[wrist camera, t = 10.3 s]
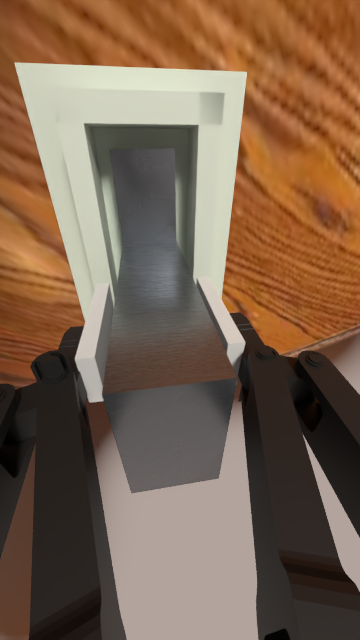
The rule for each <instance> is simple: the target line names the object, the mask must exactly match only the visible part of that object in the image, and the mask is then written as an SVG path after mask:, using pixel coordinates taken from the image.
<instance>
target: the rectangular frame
mask: <svg viewBox="0 0 360 640" xmlns="http://www.w3.org/2000/svg"><path fill="white" fill-rule="evenodd" d="M15 67H16V71H17V74H18V78H19V82H20V85H21V89H22V93H23V96H24V100H25V104H26V107H27V111H28V114H29V118H30V122H31V125H32V129H33V133H34V136H35V140H36V144H37V147H38V151H39V155H40V158H41V162H42V166H43V169H44V173H45V177H46V180H47V184H48V188H49V191H50V195H51V199H52V202H53V206H54V209H55V213H56V217H57V220H58V224H59V228H60V231H61V235H62V239H63V242H64V246H65V250H66V253H67V257H68V261H69V264H70V268H71V272H72V275H73V279H74V283H75V286H76V290H77V294H78V297H79V301H80V304H81V308H82V312H83V315H84V319H85V322H86V318H87V315H88V311H89V308H90V305H91V301H92V298H93V294H94V291H95V287H96V284H102V283H109V284H110V290H111V295H112V301H113V306H114V303H115V296H116V289H117V281H118V274H119V267H120V260H121V253H122V245H123V241H122V234H121V228H120V221H119V214H118V207H117V200H116V193H115V186H114V179H113V172H112V165H111V158H110V151H109V149H158V148H175V191H176V241H177V243H178V245H179V248H180V250H181V252H182V254H183V257H184V259H185V261H186V263H187V266H188V268H189V270H190V272H191V275H192V277H193V279H194V281H195V284H196V283H197V277H209V279H210V281H211V282H212V284H213V286H214V288H215V289H216V291H217V293H218V295H219V296H220V298H222V289H223V280H224V271H225V262H226V253H227V244H228V236H229V227H230V218H231V209H232V200H233V191H234V182H235V174H236V165H237V156H238V147H239V138H240V129H241V120H242V112H243V103H244V94H245V85H246V76H247V72H234V71H209V70H185V69H160V68H136V67H111V66H86V65H62V64H37V63H15Z"/></svg>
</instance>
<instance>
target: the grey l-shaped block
mask: <svg viewBox="0 0 360 640" xmlns="http://www.w3.org/2000/svg"><path fill="white" fill-rule="evenodd" d="M109 151H110V158H111V165H112V172H113V179H114V186H115V193H116V200H117V207H118V214H119V221H120V228H121V234H122V241H123V245H122V253H121V260H120V267H119V274H118V281H117V289H116V296H115V303H114V310H113V317H112V325H111V332H110V339H109V346H108V353H107V361H106V368H105V375H104V382H103V389H102V397H103V400H104V403H105V407H106V410H107V414H108V417H109V420H110V424H111V427H112V430H113V434H114V436H115V440H116V443H117V447H118V450H119V453H120V456H121V460H122V463H123V467H124V470H125V473H126V477H127V480H128V483H129V486H130V490H131V493H136V492H142V491H148V490H154V489H159V488H165V487H171V486H177V485H183V484H189V483H194V482H200V481H206V480H212V479H217V478H219V474H220V468H221V462H222V457H223V452H224V447H225V441H226V436H227V431H228V425H229V420H230V415H231V409H232V403H233V398H234V393H235V388H236V382H237V376H236V374H235V371H234V369H233V367H232V365H231V362H230V360H229V358H228V356H227V353H226V351H225V349H224V347H223V344H222V342H221V340H220V338H219V335H218V333H217V331H216V329H215V326H214V324H213V322H212V320H211V317H210V315H209V313H208V311H207V308H206V306H205V304H204V302H203V299H202V297H201V295H200V293H199V290H198V288H197V286H196V284H195V281H194V279H193V277H192V275H191V272H190V270H189V268H188V266H187V263H186V261H185V259H184V257H183V254H182V252H181V250H180V248H179V245H178V243H177V241H176V191H175V148H158V149H109Z"/></svg>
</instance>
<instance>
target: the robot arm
mask: <svg viewBox="0 0 360 640" xmlns="http://www.w3.org/2000/svg"><path fill="white" fill-rule="evenodd" d="M196 286H197V288H198V290H199V293H200V295H201V297H202V299H203V302H204V304H205V306H206V308H207V311H208V313H209V315H210V317H211V320H212V322H213V324H214V326H215V329H216V331H217V333H218V335H219V338H220V340H221V342H222V344H223V347H224V349H225V351H226V353H227V356H228V358H229V360H230V362H231V365H232V367H233V369H234V371H235V374H236V376H237V382H238V377H239V379H240V381H241V384H242V387H241V391H240V395H239V400H238V401H239V402H240V401H241V402H242V413H243V424H244V435H245V446H246V458H247V468H248V479H249V491H250V503H251V514H252V525H253V536H254V547H255V559H256V570H257V597H256V610H257V626H258V638H259V640H360V592H359V590H358V588H357V586H356V585H355V583H354V582H353V581H352V580H351V579H350V578H349V577H348V576H347V574H346V573H345V571H344V570H343V568H342V566H341V563H340V560H339V557H338V553H337V550H336V547H335V543H334V540H333V536H332V533H331V530H330V526H329V523H328V519H327V516H326V512H325V509H324V506H323V502H322V499H321V496H320V492H319V489H318V486H317V482H316V478H315V475H314V472H313V468H312V465H311V461H310V458H309V455H308V451H307V448H306V444H305V441H304V438H303V435H304V437H305V439H306V440H307V442H308V444H309V446H310V448H311V449H312V451H313V453H314V455H315V457H316V458H317V460H318V462H319V464H320V466H321V468H322V470H323V471H324V473H325V475H326V477H327V479H328V480H329V482H330V484H331V486H332V488H333V489H334V491H335V493H336V495H337V497H338V499H339V501H340V502H341V504H342V506H343V508H344V510H345V512H346V513H347V515H348V517H349V519H350V521H351V523H352V524H353V526H354V528H355V530H356V532H357V534H358V535H359V537H360V395H359V394H358V393H357V391H356V390H355V389H354V388H353V387H352V386H351V384H349V382H348V381H347V380H346V379H345V378H344V376H343V375H342V374H341V373H340V372H339V371H338V369H337V368H336V367H335V366H334V365H333V364H332V362H331V361H330V360H329V359H327V357H325V356H324V355H322V354H320V353H318V352H315V351H307V350H306V351H302V352H301V353H300V354H299V355H298V358H293V357H285V356H280V355H279V354H278V352H277V351H276V350H275V349H273V348H271V347H269V346H266V345H264V343H263V342H262V340H261V339H260V337H259V336H258V334H257V333H256V331H255V330H254V329H253V327H252V325H251V324H250V322H249V320H248V319H247V317H245V316H244V315H242V314H241V313H229V312H228V311H227V309H226V307H225V305H224V304H223V302H222V300H221V298H220V296H219V295H218V293H217V291H216V289H215V288H214V286H213V284H212V282H211V281H210V279H209V277H197V283H196ZM113 310H114V306H113V301H112V295H111V290H110V284H109V283H102V284H96V287H95V291H94V294H93V298H92V301H91V305H90V308H89V311H88V315H87V318H86V322H85V325H84V326H81V327H71V328H70V329H69V330H68V331H67V332H65V333H64V336H63V338H62V342H61V343H60V346H59V348H58V350H55V351H49V352H46V353H43V354H41V355H40V356H38V357H37V358H36V359H35V360H34V361H33V362H32V364H31V369H32V371H33V373H34V375H35V377H36V379H37V381H38V382H36V383H33V384H31V385H28V386H25V387H22V388H19V389H16V390H15V388H14V386H12V385H10V384H0V558H1V554H2V551H3V547H4V544H5V541H6V538H7V534H8V531H9V528H10V524H11V521H12V518H13V515H14V511H15V508H16V505H17V501H18V498H19V495H20V491H21V488H22V485H23V482H24V478H25V475H26V472H27V468H28V465H29V462H30V458H31V455H32V452H33V449H34V445H35V442H36V453H35V486H34V516H33V545H32V546H33V547H32V577H31V607H30V609H31V610H30V633H29V640H126V635H125V630H124V626H123V623H122V619H121V615H120V610H119V604H118V598H117V592H116V585H115V579H114V573H113V567H112V560H111V555H110V548H109V542H108V536H107V529H106V524H105V518H104V511H103V505H102V499H101V492H100V486H99V480H98V473H97V467H96V461H95V455H94V449H93V443H92V436H91V430H90V424H89V417H88V412H87V408H86V405H85V403H86V398H87V397H88V400H89V402H90V403H91V402H99V401H104V400H103V397H102V389H103V382H104V375H105V368H106V361H107V353H108V346H109V339H110V332H111V325H112V317H113ZM237 382H236V385H237ZM302 433H303V434H302Z"/></svg>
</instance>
